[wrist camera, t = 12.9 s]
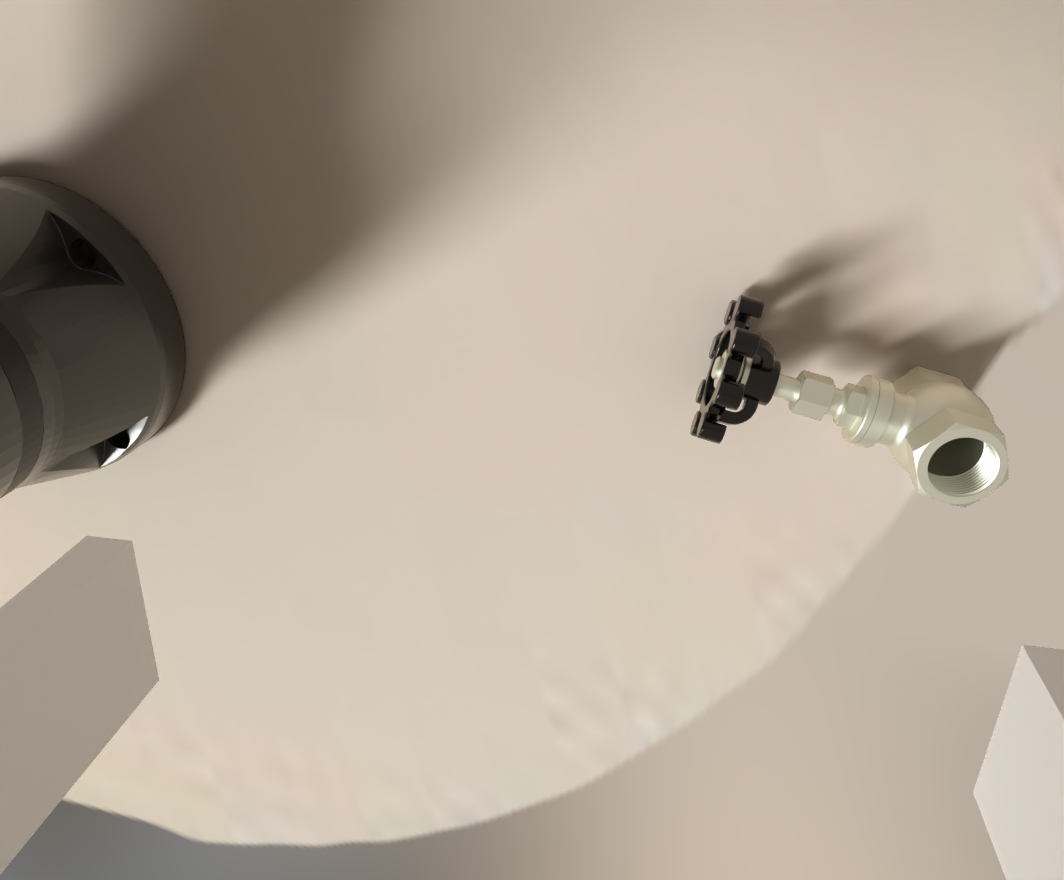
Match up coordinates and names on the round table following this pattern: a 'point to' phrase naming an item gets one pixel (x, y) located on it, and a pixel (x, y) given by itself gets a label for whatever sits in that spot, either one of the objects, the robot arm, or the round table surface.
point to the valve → (861, 411)
